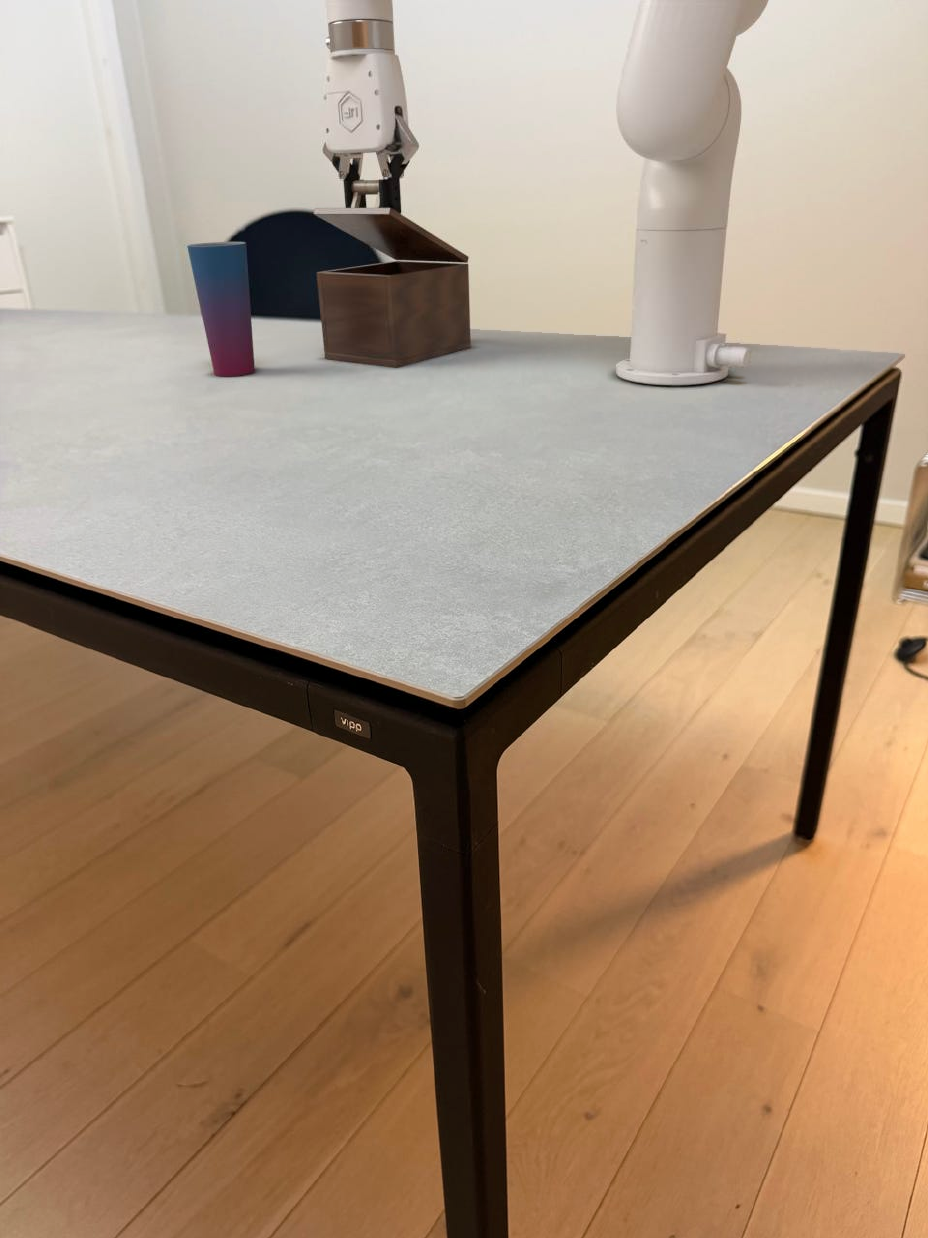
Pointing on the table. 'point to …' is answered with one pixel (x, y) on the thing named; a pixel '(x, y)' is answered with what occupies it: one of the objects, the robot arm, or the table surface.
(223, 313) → the cup
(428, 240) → the lid
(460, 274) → the brown wooden box
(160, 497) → the table surface
